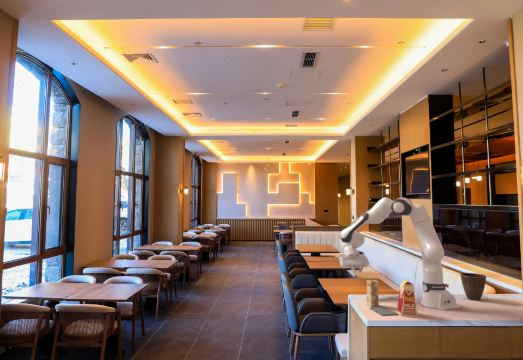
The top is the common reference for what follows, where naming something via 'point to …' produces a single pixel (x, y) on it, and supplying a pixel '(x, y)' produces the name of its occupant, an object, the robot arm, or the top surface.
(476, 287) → the plant pot
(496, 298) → the top surface
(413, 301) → the red figurine
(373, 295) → the block
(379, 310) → the mat
